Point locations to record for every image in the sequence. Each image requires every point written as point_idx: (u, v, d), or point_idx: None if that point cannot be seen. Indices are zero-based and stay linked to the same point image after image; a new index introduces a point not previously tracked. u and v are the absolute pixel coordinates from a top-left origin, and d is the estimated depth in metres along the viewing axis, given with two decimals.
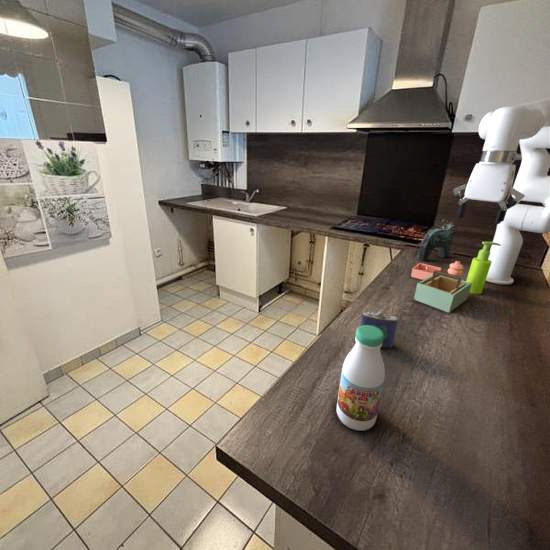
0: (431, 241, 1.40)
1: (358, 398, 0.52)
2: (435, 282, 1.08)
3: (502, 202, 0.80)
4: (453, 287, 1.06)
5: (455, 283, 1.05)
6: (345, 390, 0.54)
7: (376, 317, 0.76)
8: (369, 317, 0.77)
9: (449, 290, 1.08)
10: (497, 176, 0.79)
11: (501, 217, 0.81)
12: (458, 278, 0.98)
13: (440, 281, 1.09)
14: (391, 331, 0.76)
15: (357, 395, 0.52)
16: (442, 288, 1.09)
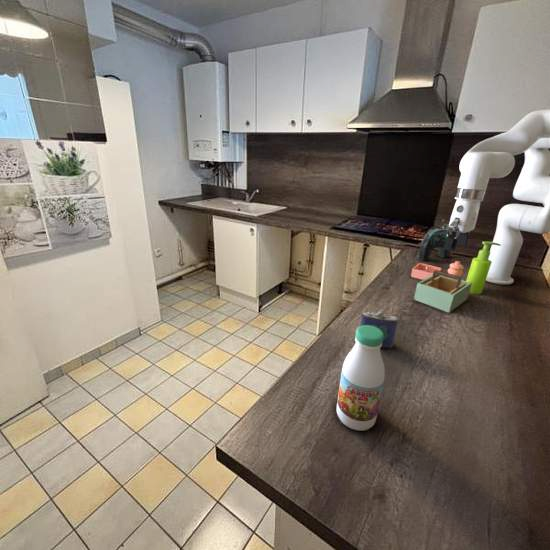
0: (431, 241, 1.40)
1: (358, 398, 0.52)
2: (435, 282, 1.08)
3: None
4: (453, 287, 1.06)
5: (455, 283, 1.05)
6: (344, 390, 0.54)
7: (376, 317, 0.76)
8: (369, 317, 0.77)
9: (449, 290, 1.08)
10: None
11: None
12: (458, 278, 0.98)
13: (440, 281, 1.09)
14: (391, 331, 0.76)
15: (357, 395, 0.52)
16: (442, 288, 1.09)
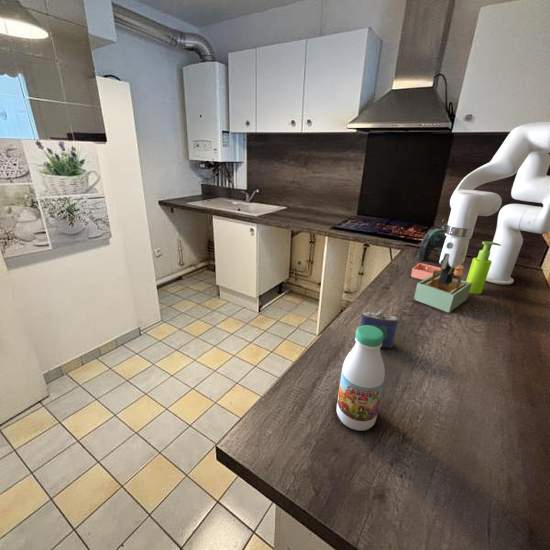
0: (431, 241, 1.40)
1: (358, 398, 0.52)
2: (435, 282, 1.08)
3: None
4: (453, 287, 1.06)
5: (455, 283, 1.05)
6: (345, 390, 0.54)
7: (376, 317, 0.76)
8: (369, 317, 0.77)
9: (449, 290, 1.08)
10: None
11: None
12: (458, 278, 0.98)
13: None
14: (391, 331, 0.76)
15: (357, 395, 0.52)
16: (442, 288, 1.09)
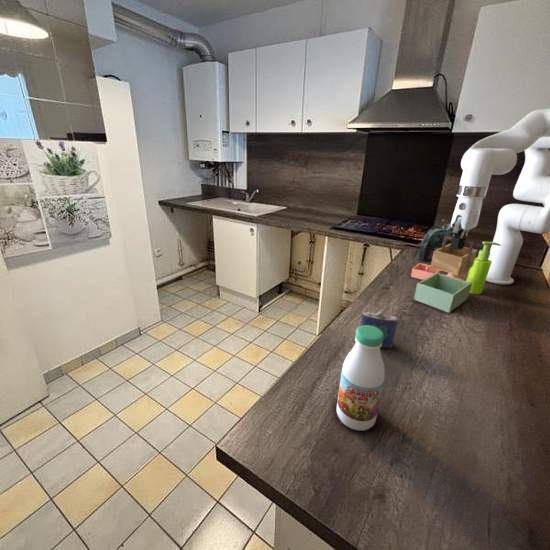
0: (431, 241, 1.40)
1: (358, 398, 0.52)
2: (446, 250, 1.02)
3: None
4: (465, 254, 1.01)
5: (467, 250, 1.00)
6: (344, 390, 0.54)
7: (376, 317, 0.76)
8: (369, 317, 0.77)
9: None
10: None
11: None
12: (471, 242, 0.93)
13: (451, 249, 1.04)
14: (391, 331, 0.76)
15: (357, 395, 0.52)
16: None
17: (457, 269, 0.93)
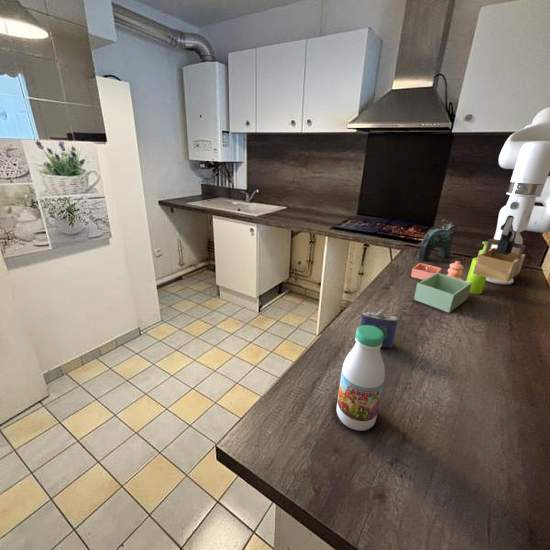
0: (431, 241, 1.40)
1: (358, 398, 0.52)
2: (489, 254, 0.93)
3: None
4: (510, 259, 0.91)
5: (513, 255, 0.90)
6: (345, 390, 0.54)
7: (376, 317, 0.76)
8: (369, 317, 0.77)
9: None
10: None
11: (500, 247, 0.86)
12: (521, 246, 0.83)
13: (493, 253, 0.94)
14: (391, 331, 0.76)
15: (357, 395, 0.52)
16: None
17: (506, 276, 0.83)
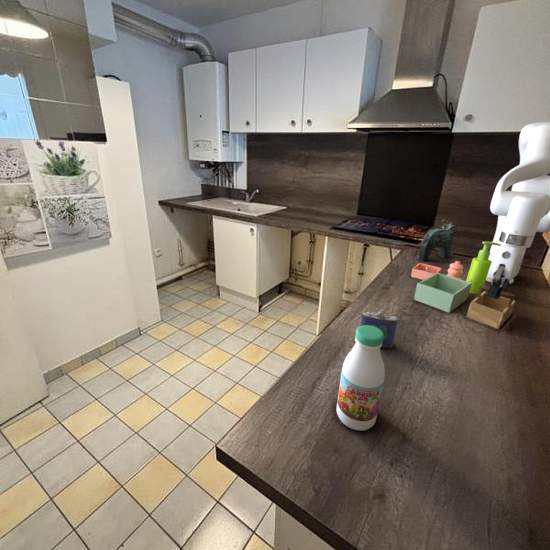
0: (431, 241, 1.40)
1: (358, 398, 0.52)
2: (481, 299, 0.97)
3: (493, 278, 0.88)
4: (501, 304, 0.96)
5: (504, 300, 0.95)
6: (345, 390, 0.54)
7: (376, 317, 0.76)
8: (369, 317, 0.77)
9: (496, 307, 0.97)
10: None
11: (490, 291, 0.89)
12: (511, 296, 0.88)
13: (485, 297, 0.99)
14: (391, 331, 0.76)
15: (357, 395, 0.52)
16: (488, 305, 0.99)
17: (497, 324, 0.88)
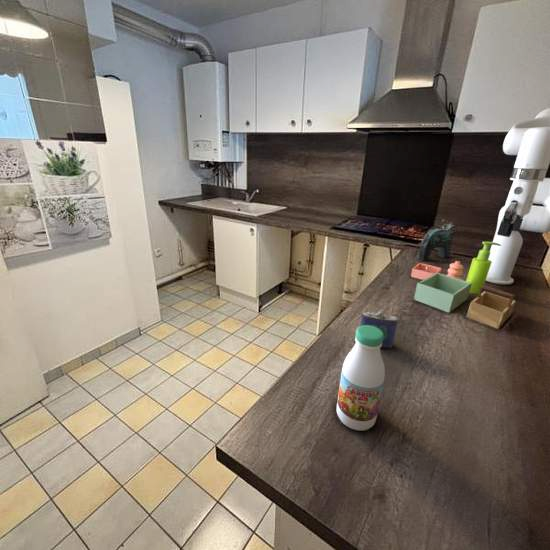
0: (431, 241, 1.40)
1: (358, 398, 0.52)
2: (481, 299, 0.97)
3: None
4: (501, 304, 0.96)
5: (504, 300, 0.95)
6: (345, 390, 0.54)
7: (376, 317, 0.76)
8: (369, 317, 0.77)
9: (496, 307, 0.97)
10: None
11: (501, 229, 0.87)
12: (511, 296, 0.88)
13: (485, 297, 0.99)
14: (391, 331, 0.76)
15: (357, 395, 0.52)
16: (488, 305, 0.99)
17: (497, 324, 0.88)
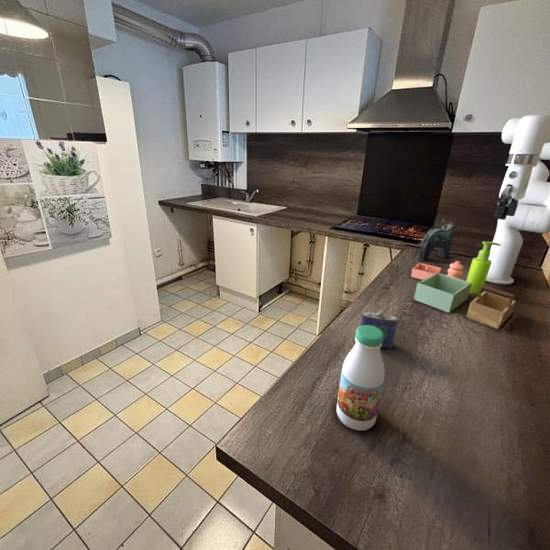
0: (431, 241, 1.40)
1: (358, 398, 0.52)
2: (481, 299, 0.97)
3: None
4: (501, 304, 0.96)
5: (504, 300, 0.95)
6: (344, 390, 0.54)
7: (376, 317, 0.76)
8: (369, 317, 0.77)
9: (496, 307, 0.97)
10: None
11: None
12: (511, 296, 0.88)
13: (485, 297, 0.99)
14: (391, 331, 0.76)
15: (357, 395, 0.52)
16: (488, 305, 0.99)
17: (497, 324, 0.88)
